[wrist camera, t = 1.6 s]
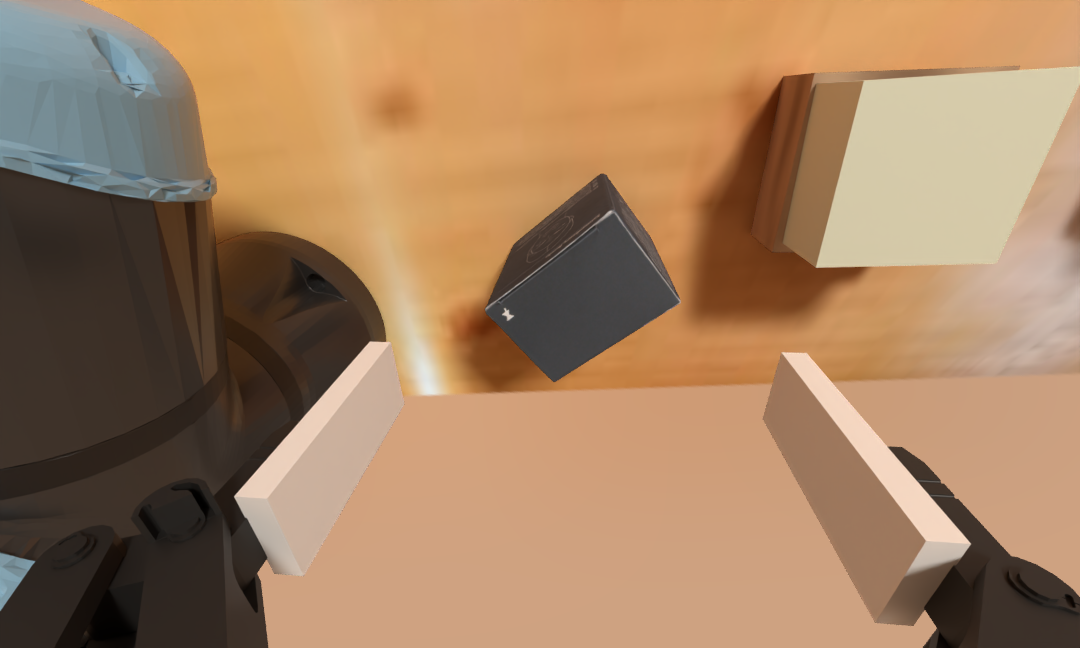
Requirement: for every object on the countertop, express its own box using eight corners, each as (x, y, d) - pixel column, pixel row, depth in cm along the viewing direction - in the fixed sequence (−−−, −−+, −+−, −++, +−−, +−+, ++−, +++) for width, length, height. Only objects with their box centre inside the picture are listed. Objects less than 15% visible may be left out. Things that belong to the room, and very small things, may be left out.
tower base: (748, 233, 28) (772, 252, 25) (780, 76, 24) (814, 72, 21) (894, 232, 27) (939, 252, 24) (954, 70, 23) (1020, 65, 20)
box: (562, 301, 32) (552, 386, 22) (512, 243, 30) (478, 309, 21) (653, 237, 29) (685, 305, 19) (604, 169, 27) (613, 207, 18)
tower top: (782, 243, 24) (815, 267, 21) (816, 83, 21) (863, 80, 17) (934, 238, 24) (996, 263, 20) (998, 71, 20) (1088, 65, 16)
